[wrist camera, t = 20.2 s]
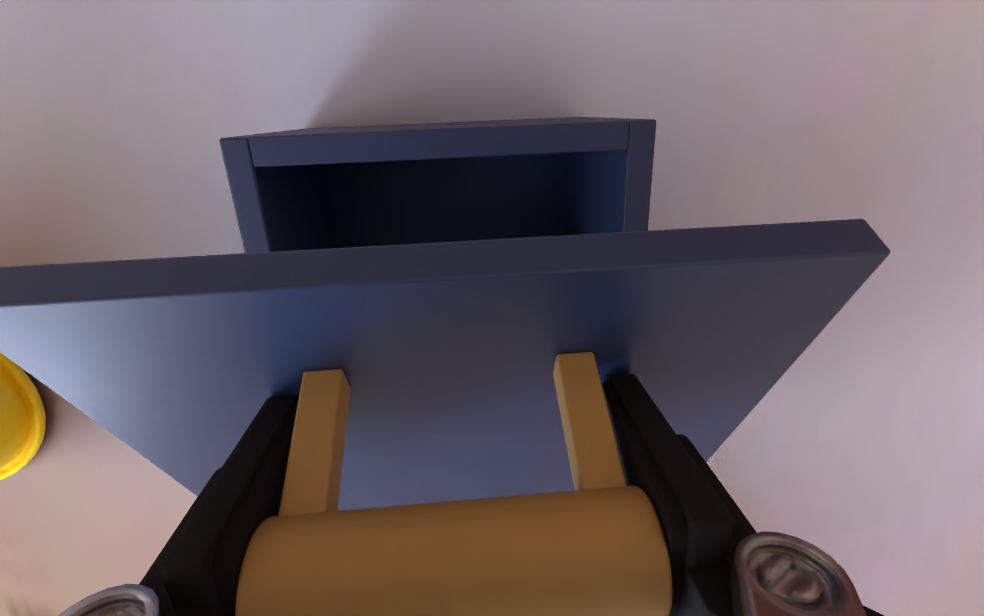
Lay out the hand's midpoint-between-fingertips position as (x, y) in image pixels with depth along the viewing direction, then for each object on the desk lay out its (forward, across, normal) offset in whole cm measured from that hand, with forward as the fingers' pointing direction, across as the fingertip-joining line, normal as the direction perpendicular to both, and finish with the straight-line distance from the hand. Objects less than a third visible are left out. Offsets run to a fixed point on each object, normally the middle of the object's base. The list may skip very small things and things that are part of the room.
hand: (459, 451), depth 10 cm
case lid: (+4, 0, +3) cm, 5 cm away
